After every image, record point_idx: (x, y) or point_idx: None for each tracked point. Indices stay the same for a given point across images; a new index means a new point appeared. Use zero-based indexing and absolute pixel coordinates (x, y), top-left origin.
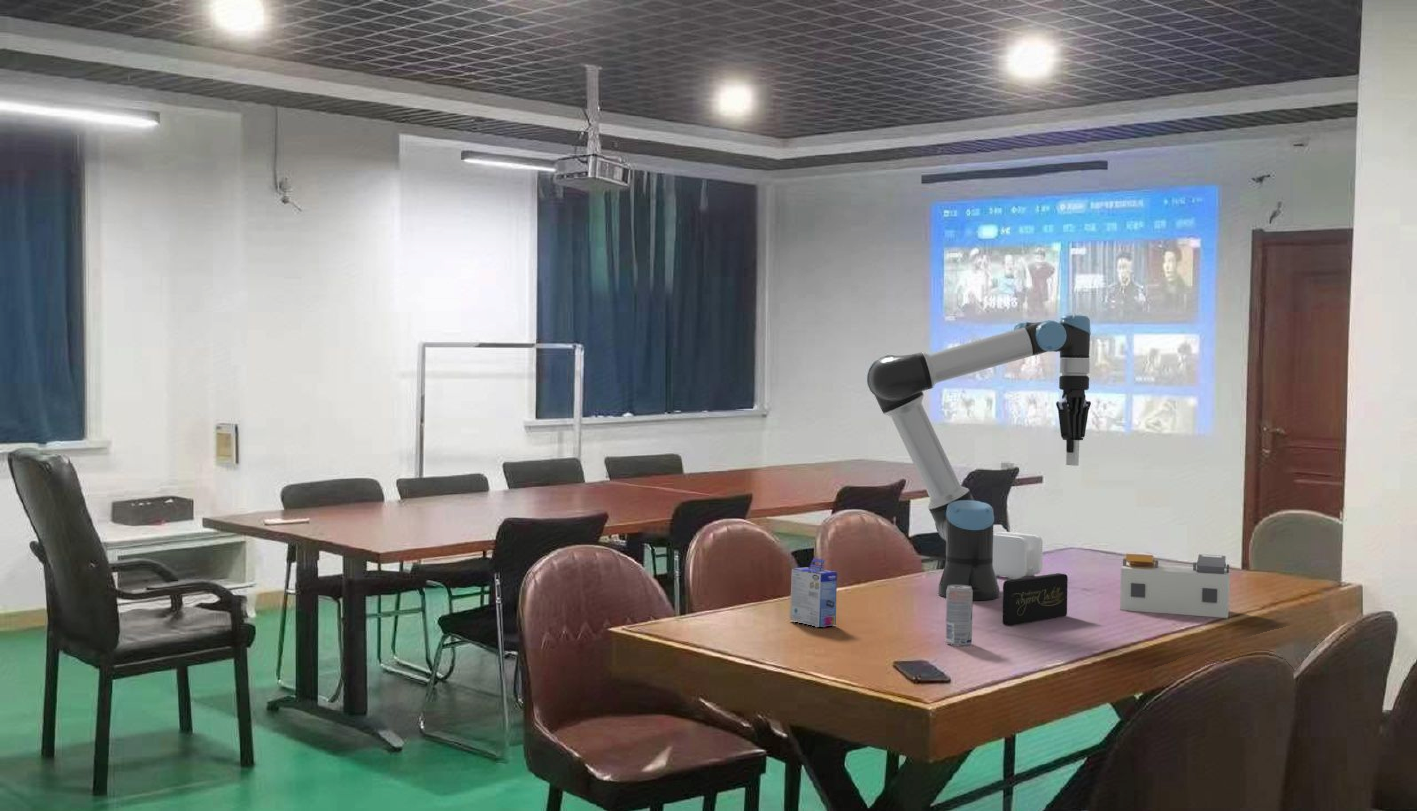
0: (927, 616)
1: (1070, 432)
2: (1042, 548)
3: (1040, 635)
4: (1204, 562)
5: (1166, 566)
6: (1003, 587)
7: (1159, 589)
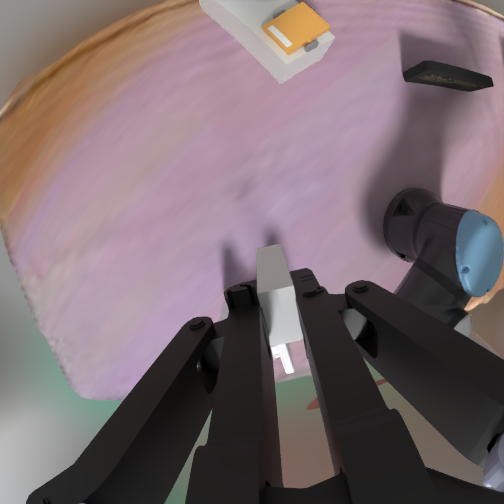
0: (494, 159)
1: (368, 298)
2: (220, 317)
3: (462, 48)
4: None
5: (255, 18)
6: (491, 86)
7: None
